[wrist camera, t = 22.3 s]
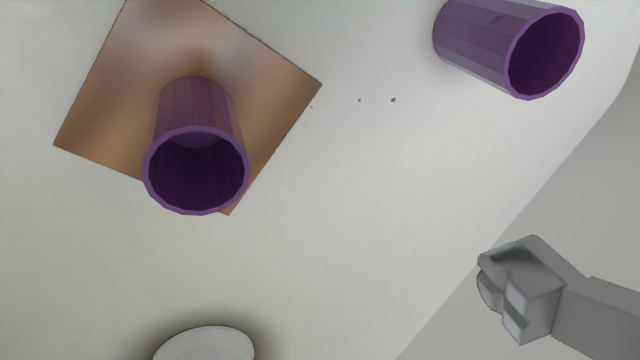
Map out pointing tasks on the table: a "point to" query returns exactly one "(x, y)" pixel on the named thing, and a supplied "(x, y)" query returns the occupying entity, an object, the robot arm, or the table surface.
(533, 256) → the robot arm
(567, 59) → the cup
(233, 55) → the mat
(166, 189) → the cup
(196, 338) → the decorative vase
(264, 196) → the table surface
